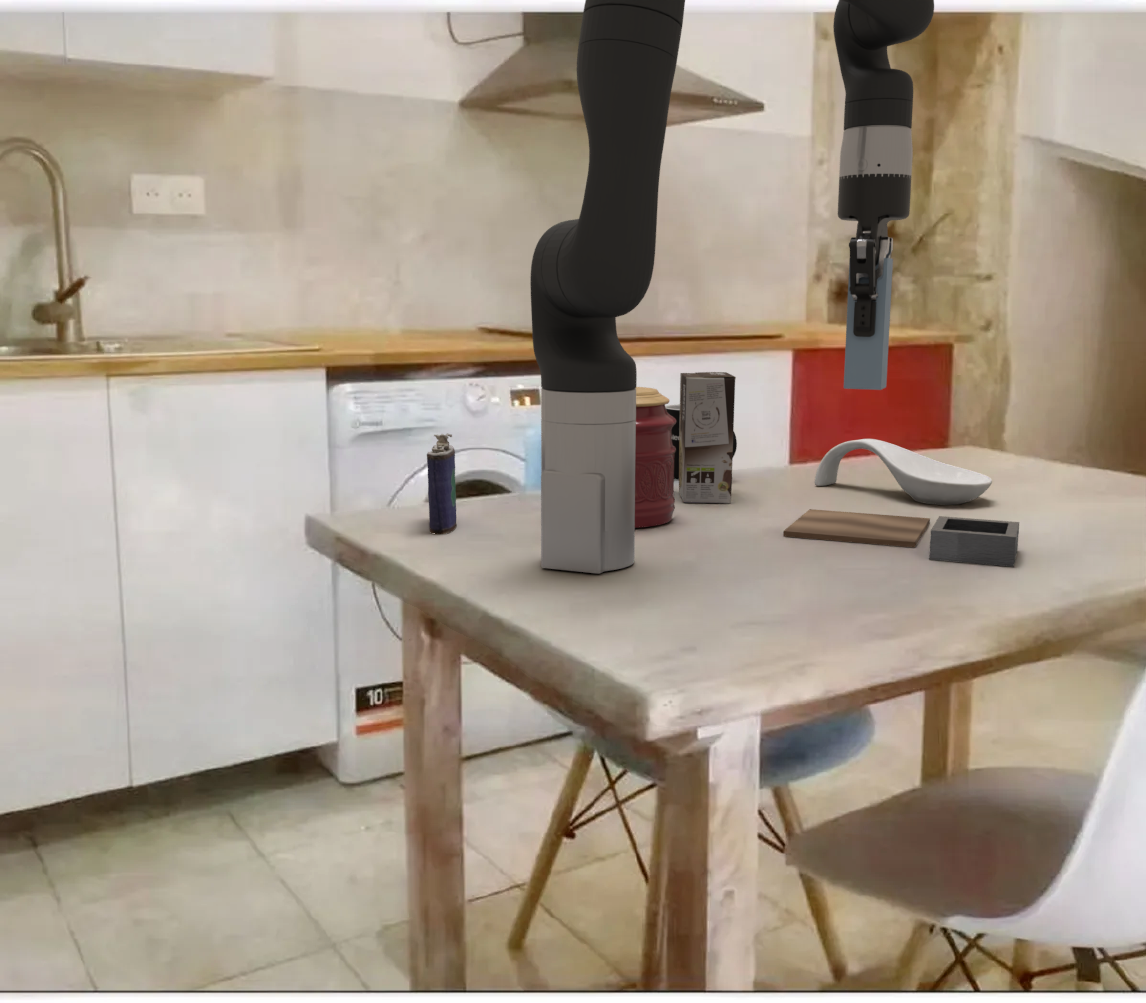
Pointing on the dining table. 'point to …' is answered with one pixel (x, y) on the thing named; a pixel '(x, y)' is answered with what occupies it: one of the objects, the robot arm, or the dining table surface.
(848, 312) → the peg
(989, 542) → the collar
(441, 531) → the flask
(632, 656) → the dining table surface
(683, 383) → the coffee box
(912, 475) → the spoon rest
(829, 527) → the board
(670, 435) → the canister
